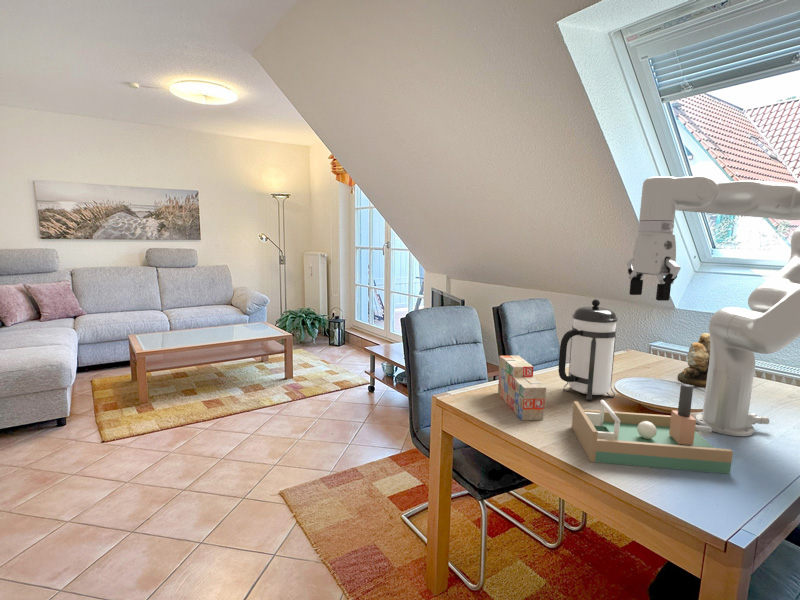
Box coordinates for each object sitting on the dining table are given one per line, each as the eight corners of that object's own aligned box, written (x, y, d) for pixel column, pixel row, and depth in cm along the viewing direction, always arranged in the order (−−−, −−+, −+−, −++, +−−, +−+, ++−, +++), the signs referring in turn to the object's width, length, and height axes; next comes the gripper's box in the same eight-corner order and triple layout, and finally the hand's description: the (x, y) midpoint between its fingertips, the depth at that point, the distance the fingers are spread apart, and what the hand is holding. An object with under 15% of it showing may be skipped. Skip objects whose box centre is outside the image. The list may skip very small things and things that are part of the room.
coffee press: (562, 382, 151) (568, 294, 146) (614, 390, 144) (623, 298, 139) (556, 399, 135) (563, 301, 131) (614, 408, 128) (623, 305, 124)
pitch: (688, 435, 111) (692, 401, 110) (730, 473, 94) (735, 433, 92) (571, 426, 115) (574, 393, 114) (590, 461, 98) (593, 422, 96)
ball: (651, 435, 106) (653, 419, 105) (658, 442, 102) (660, 426, 101) (633, 433, 106) (635, 417, 106) (640, 441, 102) (641, 424, 102)
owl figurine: (685, 371, 166) (691, 326, 163) (723, 379, 158) (730, 332, 155) (672, 381, 153) (678, 333, 151) (713, 390, 145) (720, 339, 143)
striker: (704, 437, 105) (711, 383, 103) (715, 447, 100) (723, 391, 98) (669, 434, 106) (674, 381, 104) (678, 444, 101) (685, 388, 99)
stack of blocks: (544, 420, 120) (547, 376, 118) (521, 421, 119) (524, 376, 117) (516, 392, 141) (518, 354, 139) (497, 392, 140) (499, 354, 138)
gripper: (697, 228, 102) (688, 302, 104) (645, 229, 119) (638, 292, 121) (668, 228, 101) (659, 302, 103) (619, 228, 118) (613, 292, 120)
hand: (648, 297), depth 112 cm, fingers open, 9 cm apart
